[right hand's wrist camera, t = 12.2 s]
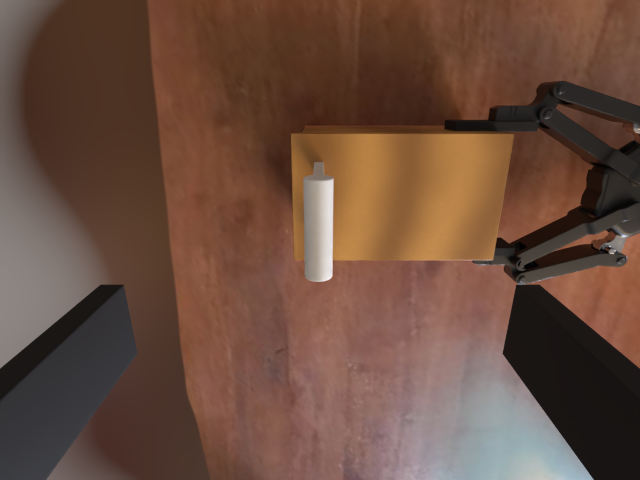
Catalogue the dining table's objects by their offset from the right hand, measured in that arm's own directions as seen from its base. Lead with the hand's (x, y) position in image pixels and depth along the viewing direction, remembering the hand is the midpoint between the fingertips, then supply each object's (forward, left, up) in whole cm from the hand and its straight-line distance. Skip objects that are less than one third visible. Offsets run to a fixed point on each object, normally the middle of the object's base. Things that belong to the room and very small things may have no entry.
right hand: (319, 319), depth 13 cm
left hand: (+10, -4, -21) cm, 24 cm away
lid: (+6, -2, -18) cm, 19 cm away
